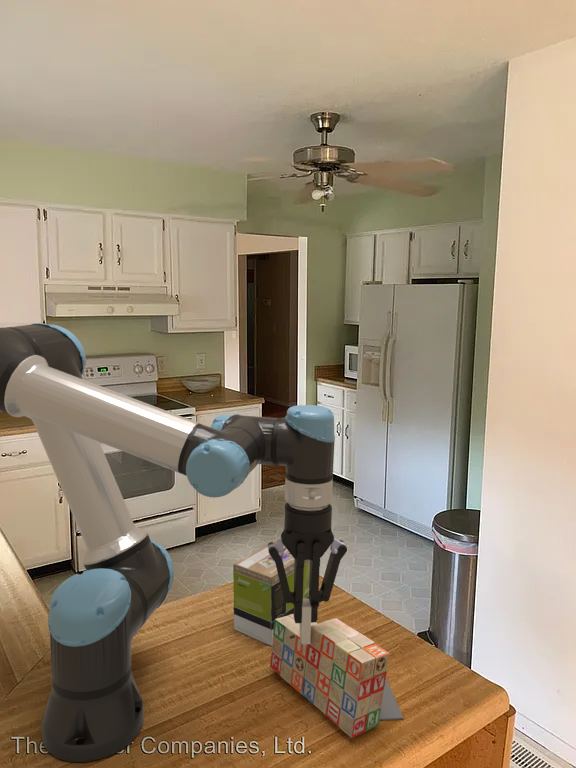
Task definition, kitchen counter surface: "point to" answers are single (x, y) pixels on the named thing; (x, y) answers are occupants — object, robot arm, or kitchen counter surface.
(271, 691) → the kitchen counter surface
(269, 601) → the tea box
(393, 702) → the rubber pad
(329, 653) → the stack of blocks
